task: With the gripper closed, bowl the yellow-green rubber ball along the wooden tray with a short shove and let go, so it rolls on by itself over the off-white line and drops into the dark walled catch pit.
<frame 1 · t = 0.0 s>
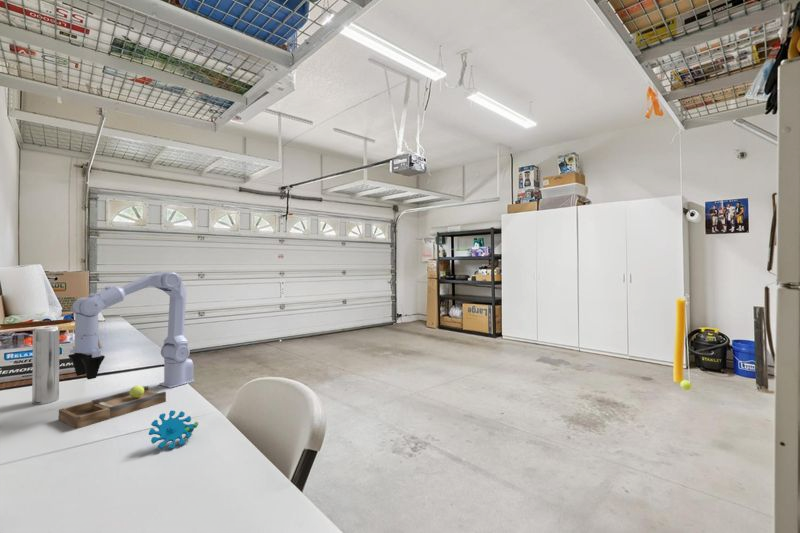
hand: (86, 376, 117), 10 cm above the table, tool pointing down, fingers open, 7 cm apart
wooden tray: (115, 409, 115), on the table
gear: (174, 443, 94), on the table
ball: (136, 391, 121), point 4 cm above the table, touching wooden tray
silver metal cylinder: (45, 401, 122), on the table
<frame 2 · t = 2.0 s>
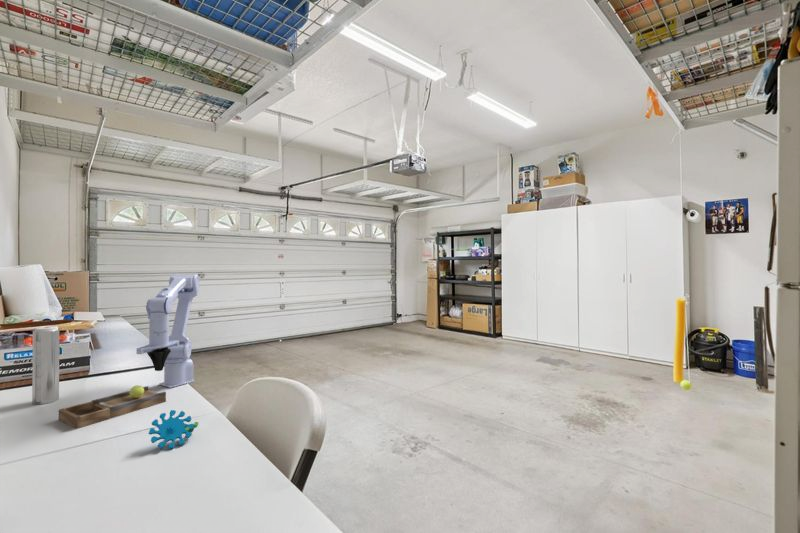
hand: (158, 370, 127), 9 cm above the table, tool pointing down, fingers closed
nothing on the table moved.
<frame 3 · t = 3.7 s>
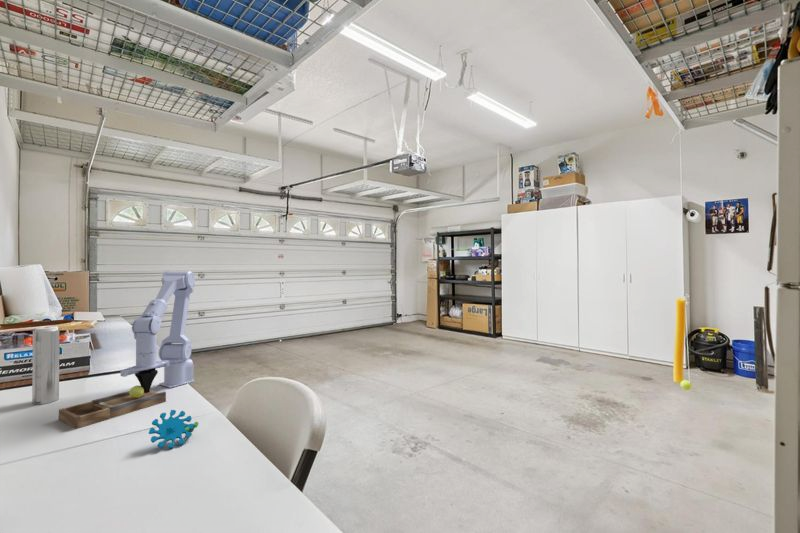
hand: (145, 392, 123), 3 cm above the table, tool pointing down, fingers closed, pressing on ball
ball: (136, 391, 121), point 4 cm above the table, touching gripper, wooden tray
everything else where it was.
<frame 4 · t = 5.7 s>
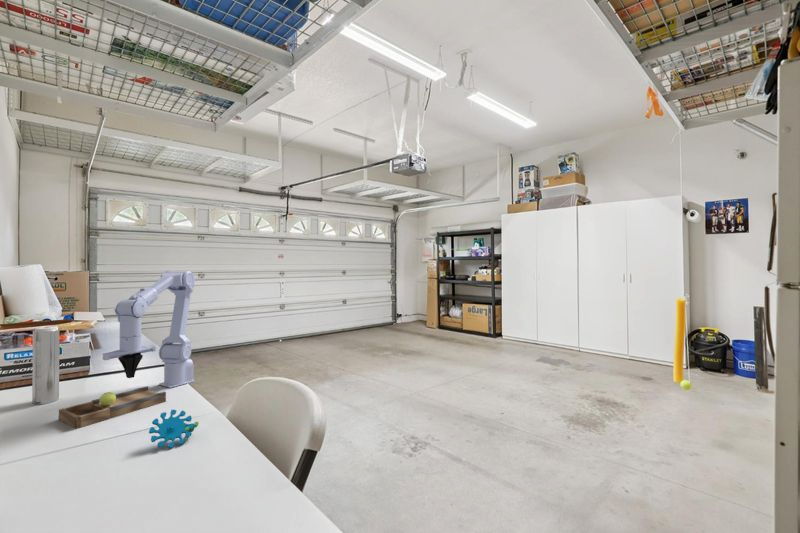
hand: (130, 377, 119), 9 cm above the table, tool pointing down, fingers closed
ball: (107, 398, 114), point 4 cm above the table, tilted 128°, touching wooden tray
everything else where it was.
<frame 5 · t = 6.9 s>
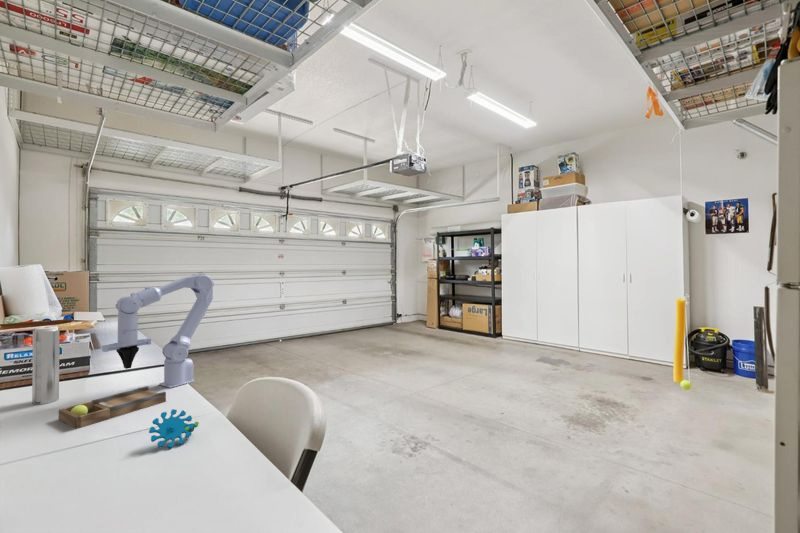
hand: (127, 367, 130), 9 cm above the table, tool pointing down, fingers closed
ball: (78, 412, 108), point 2 cm above the table, tilted 85°, touching wooden tray
everything else where it was.
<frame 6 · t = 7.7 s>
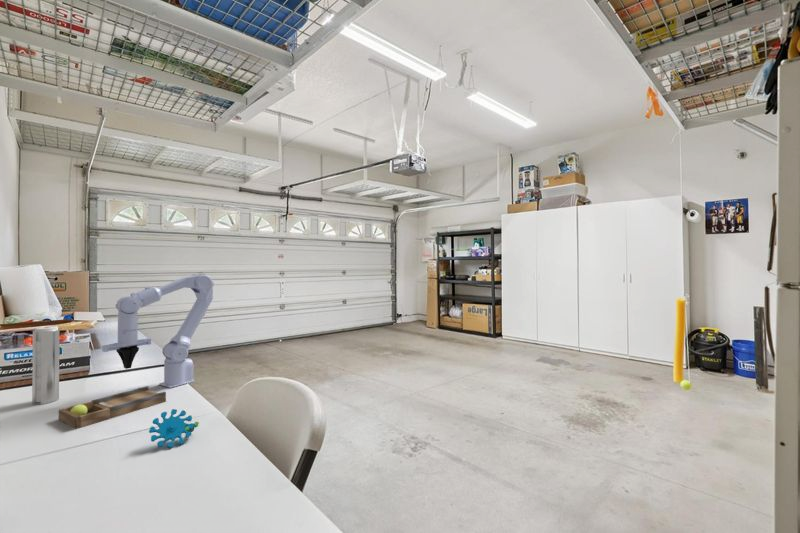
hand: (127, 367, 130), 9 cm above the table, tool pointing down, fingers closed
nothing on the table moved.
at the end: ball inside the target area on the wooden tray (2.2 cm from its centre), point 2.2 cm above the wooden tray's base; ball moved 15.0 cm from its start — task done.
